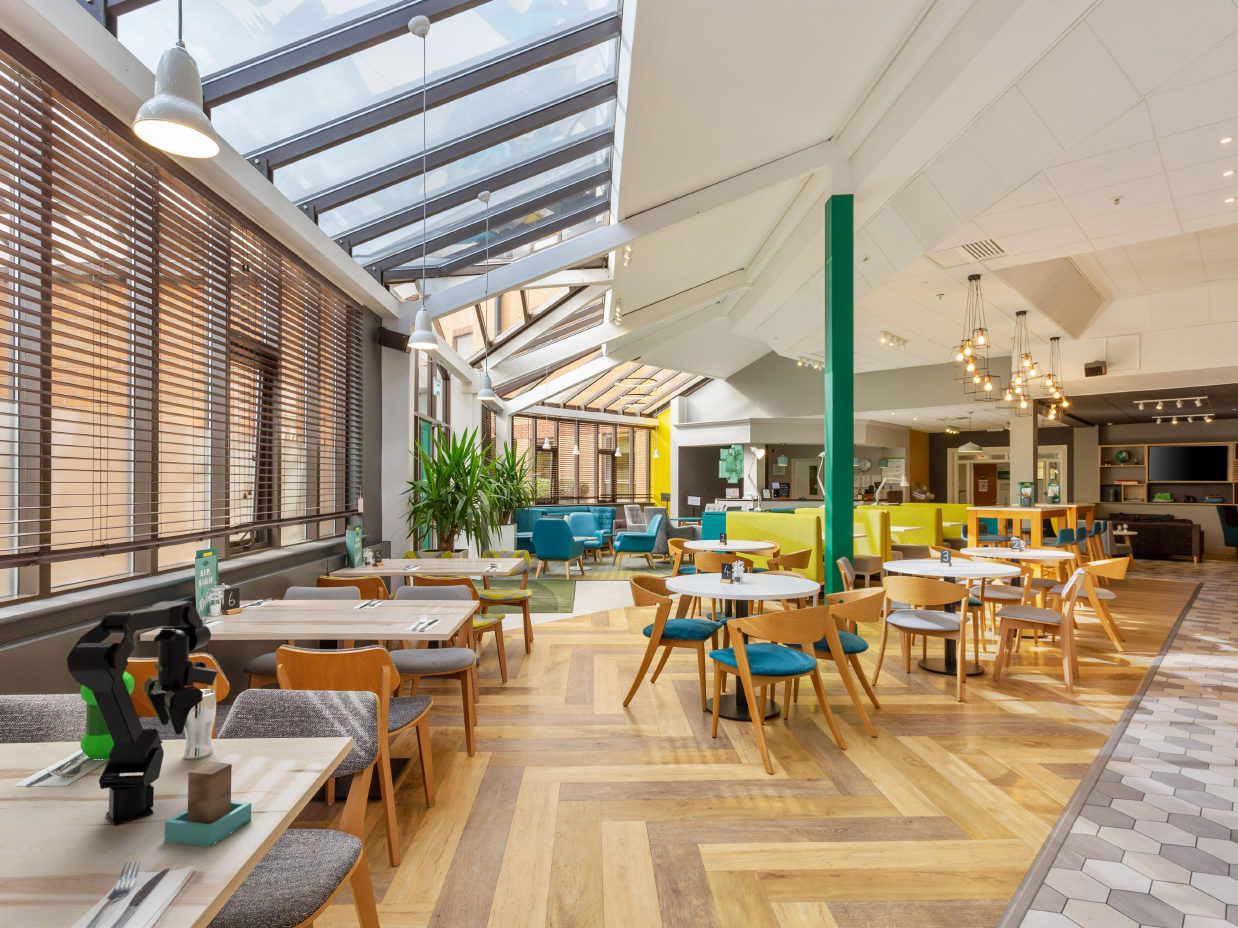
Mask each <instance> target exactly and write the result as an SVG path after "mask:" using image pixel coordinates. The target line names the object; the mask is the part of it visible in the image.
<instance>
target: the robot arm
mask: <svg viewBox="0 0 1238 928" xmlns="http://www.w3.org/2000/svg"><path fill="white" fill-rule="evenodd" d="M151 628H152V629H153V628H159V629H160V631H159V632H158V634H157V635H156V636H155V637H154V638H153V642H155V643H156V642H157V643H158V652H157V653H158V655H157V656H158V657H157V663H154V668H155V669H156V670H157V676H154V677H153V676H152V677H149V678H148V679H147V680H146V681H145V682H144V683H143V684H144V685H143V686H144V687H143V692H145V693H146V694H145V695H146V697H147V698H148V700H149V702H150V704H151V705H152V707H153V711H154V712H155V714H156V716H157V718H158V720H159V722H160V723H161V725H162V726H166V725H168V724H169V722H170V723H171V724H170V725H171V726H172V728H173V731H174V733H175V735H176V736H177V735H181V734H183V733H184V732H183V731H184V726H185V723H186V720H187V717H188V714H189V712H190V710H191V709H192V708H193V707H194V706H195V705H197V704H199V702H201V701H202V700H203V692H202V691H201V690H202V689H200V688H198V687H196V686H194V683H196V684H203V685H207V686H210V687H212V686H213V685H214V683H215V680H216V678H217V675H218V671H217V670H216V669H212V668H211V667H207V665H206V663H205V662H203V661H199V660H196V661H195V662H194V663H193V662H192V661H190V652H193V651H195V650H198V649H200V648H203V647H205V646H207V644H208V643H209V642H210V640H211V637H212V632H211V631H210V628H209V627H208V626H207V625H205V623H203V618H201V617H200V615H199V612H198V610H197V608H196V606H194V602H193V601H190V600H189V601H188V600H182V601H181V600H179V601H178V600H176V601H175V600H174V601H173V600H172V601H170V600H169V601H167V600H166V601H159V602H157V603H155V604H152V605H151V607H150V608H146V609H138V610H137V609H136V610H130V611H121V612H119V611H118V612H117V611H116V612H115V611H114V612H111V613H106V615H104V617H102V620H101V621H100V622H99V624H97V625H96V626H95V627H93V628H91V629H90V630H89V631H87V632H86V633H84V634H83V635H82V636H81V637H80V638H79V639H78V641H77V642H76V643H75V644H74V645H73V647H72V649H71V651H70V652H69V653H68V656H67V657H66V666H67V669H68V671H69V673H70V674H71V676H72V678H73V679H74V680H75V682H77V683H78V684H80V685H81V686H82V685H83V686H85V687H87V688H88V689H90V690H91V691H92V693H93V695H94V697H95V700H96V702H97V704H98V707H99V709H100V711H101V714H102V716H103V719H104V721H105V723H106V726H107V728H108V730H109V733H110V735H111V738H112V740H113V743H114V745H113V747H112V749H111V751H110V753H109V755H108V756H109V759H108V761H107V764H106V766H105V767H104V770H103V772H102V773H101V775H100V777H99V779H98V783H99V788H100V790H101V789H102V790H104V789H109V790H108V791H109V793H108V811H107V812H105V817H106V818H108V820H109V821H110V822H111V824H113V825H114V826H116V825H120V824H124V823H126V822H129V821H133V820H135V819H140V818H142V817H146V816H149V815H152V814H154V810H153V807H154V796H155V795H154V792H155V787H154V786H153V785H152V783H154V782H156V781H157V780H158V779H159V778H160V773H161V769H162V765H163V764H162V763H163V760H164V755H165V754H164V752H165V751H164V748H163V747H162V744H163V740H162V739H161V738H160V733H159V731H158V730H157V729H156V728H143V725H142V723H141V720H140V718H139V715H138V713H137V711H136V708H135V705H134V703H133V700H132V698H131V694H130V695H129V692H128V690H127V687H126V684H125V682H124V679H123V674H124V672H125V671H126V669H127V668H128V666H129V660H128V659H129V657H130V656H131V654H132V653H133V651H134V649H135V641H134V640H135V639H134V634H135V633H136V631H141V630H145V629H146V630H147V629H151ZM111 634H123V635H124V637H122V640H121V641H120V642H103V641H104V640H106V639H107V638H109V636H111ZM137 773H139V775H137ZM120 774H133V775H120ZM134 774H136V775H134Z"/></svg>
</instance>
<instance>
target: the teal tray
mask: <svg viewBox="0 0 1238 928" xmlns="http://www.w3.org/2000/svg"><path fill="white" fill-rule="evenodd" d="M187 817H188V808H187V809H186V810H183V811H182V812H180V813H178V814H177V815H175V816H172V817H171V818H169V819H168V820H165V821H164V839H163V840H164V842H168V843H176V844H184V845H191V846H198V845H203V846H202V847H205V846H211V847H213V846H214V845H215V844H214V843H215V842H217V841H219V840H220V839H222V838H224V837H225V836H227V835H228V836H230V835H231V834H232V833H231V832H233V833H234V831H235V832H236V831H238V830H239V829H241V828H242V827H244V826H245V825H247V824H248V823H251V822H252V802H250V801H249V802H247V801H240V800H232V799H231V812H230V813H228V814H227V815H225V816H223V817H222V818H220V819H218V820H217V821H215V822H213V823H212V824H204V823H196V822H188V821H187ZM240 827H241V828H240ZM237 829H238V830H237ZM230 833H231V834H230ZM229 834H230V835H229ZM228 836H227V837H228ZM225 838H226V837H225ZM225 838H224V839H225ZM222 840H223V839H222ZM219 842H220V841H219ZM217 843H218V842H217ZM213 844H214V845H213ZM212 845H213V846H212Z"/></svg>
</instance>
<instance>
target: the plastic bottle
mask: <svg viewBox="0 0 1238 928" xmlns="http://www.w3.org/2000/svg"><path fill="white" fill-rule="evenodd" d="M123 679H124V682H125V684H126V687H127V690H128V692H129V695H130V696H131V694H132V693H133V692H134V689H135V679H134V677H133V675H132V674H130V673H128V672H127V671H126V670H125V672H124V674H123ZM79 692H80V697H81V699H82V700H83V701H85V703H86V724H85V725H86V726H85V733H84V735H83V737H82V738H81V741H80V748H81V751H82V752H83V753H84V754H85V755H86V756H87V757H88V758H90V759H91V760H93V759H100V760H101V759H107V760H109V756H108V755H109V753H110V751H111V749H112V747H113V745H114V743H113V740H112V738H111V735H110V733H109V730H108V728H107V726H106V723H105V721H104V719H103V716H102V714H101V711H100V709H99V707H98V704H97V702H96V700H95V697H94V695H93V693H92V691H91V690H90V689H88V688H87V687H85V686H83V685H81V686H80V691H79Z"/></svg>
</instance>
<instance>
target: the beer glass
mask: <svg viewBox="0 0 1238 928" xmlns="http://www.w3.org/2000/svg"><path fill="white" fill-rule="evenodd" d="M200 690H201V691H202V692H203V700H202V701H201V702H199V704H197V705H195V706H194V707H193V708H192V709H191V710H190V712H189V714H188V717H187V720H186V723H185V726H184V729H183V731H184V735H185V748H184V752H183V758H184V759H185V760H199V759H203V758H206V756H207V757H208V756H211V755H212V754H213V753H214V749H213V745H212V733H213V728H214V724H215V720H216V714H217V713H216V712H217V711H216V710H217V700H216V697H217V696H216V690H215V689H210V688H204V689H200Z"/></svg>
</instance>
